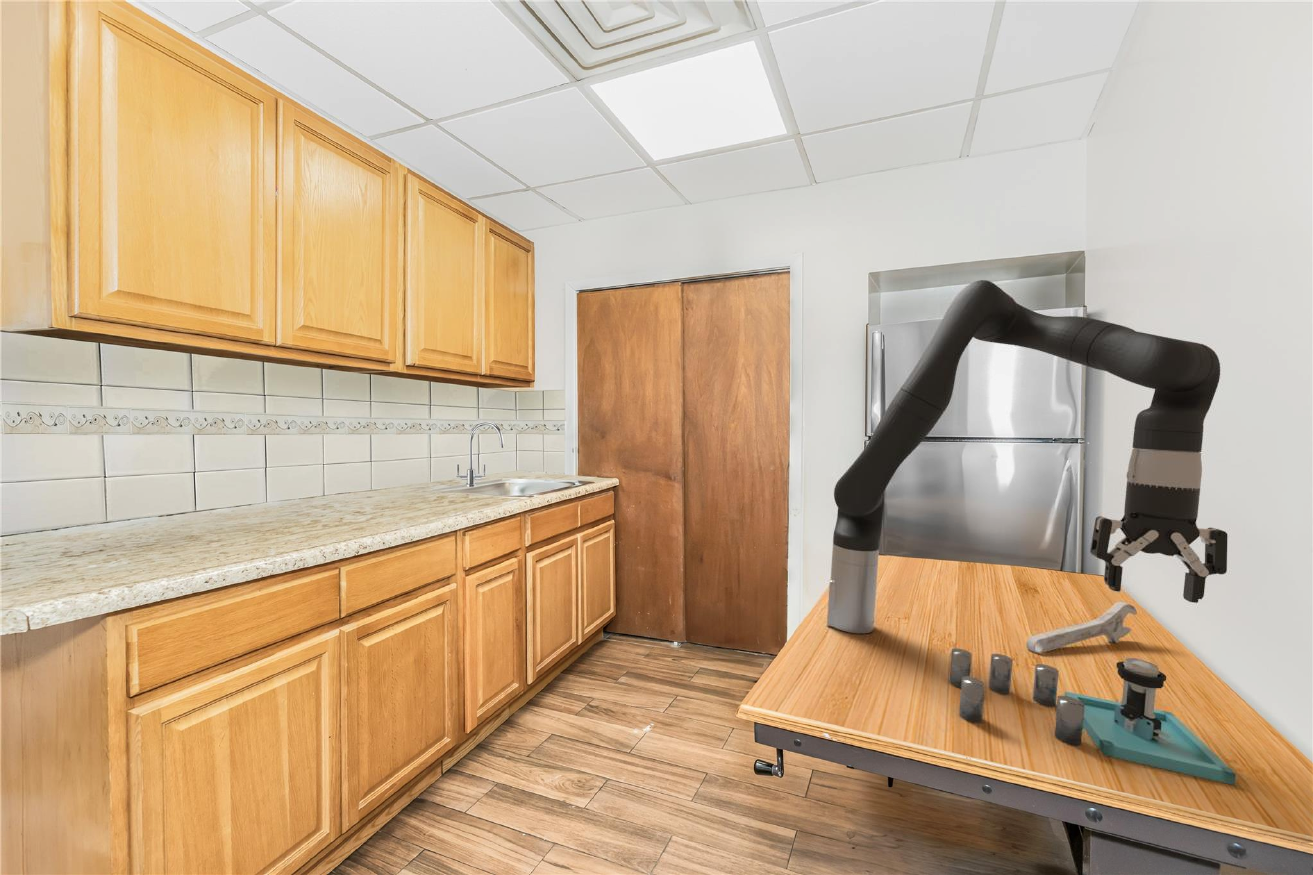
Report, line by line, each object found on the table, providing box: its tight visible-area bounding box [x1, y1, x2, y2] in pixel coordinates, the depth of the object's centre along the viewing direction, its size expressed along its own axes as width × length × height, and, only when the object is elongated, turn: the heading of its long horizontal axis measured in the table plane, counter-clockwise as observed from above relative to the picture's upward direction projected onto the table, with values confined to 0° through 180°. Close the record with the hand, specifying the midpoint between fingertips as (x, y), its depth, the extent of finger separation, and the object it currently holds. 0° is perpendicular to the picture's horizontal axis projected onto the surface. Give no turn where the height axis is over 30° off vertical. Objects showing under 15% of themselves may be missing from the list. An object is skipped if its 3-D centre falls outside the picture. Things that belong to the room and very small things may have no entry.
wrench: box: [1025, 601, 1138, 654], centre depth 109 cm, size 8×2×30 cm
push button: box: [1114, 657, 1171, 744], centre depth 76 cm, size 7×5×10 cm
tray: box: [1064, 691, 1237, 786], centre depth 76 cm, size 13×15×2 cm
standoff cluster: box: [948, 647, 1085, 747], centre depth 83 cm, size 15×15×6 cm
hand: (1151, 595), depth 76 cm, fingers open, 8 cm apart
